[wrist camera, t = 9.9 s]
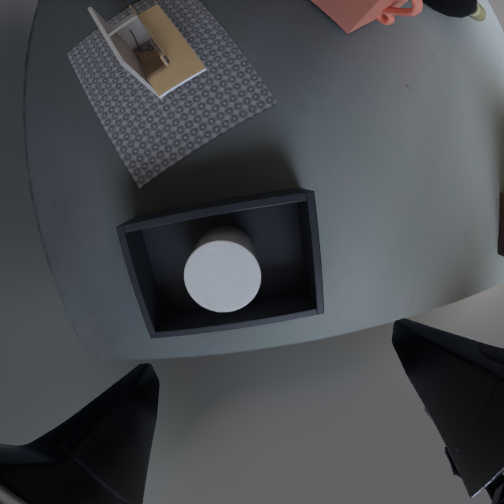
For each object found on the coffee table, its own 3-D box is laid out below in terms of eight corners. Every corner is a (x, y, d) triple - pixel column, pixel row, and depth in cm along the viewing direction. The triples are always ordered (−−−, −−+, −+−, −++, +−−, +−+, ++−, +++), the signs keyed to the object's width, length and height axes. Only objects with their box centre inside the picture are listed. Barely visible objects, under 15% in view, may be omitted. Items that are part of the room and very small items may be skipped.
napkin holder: (167, 26, 14) (140, -28, 7) (211, 86, 16) (197, 39, 9) (129, 50, 14) (86, 7, 7) (169, 112, 16) (130, 81, 9)
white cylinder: (230, 296, 20) (229, 325, 16) (182, 261, 19) (169, 283, 15) (269, 252, 19) (277, 272, 15) (219, 212, 18) (214, 223, 14)
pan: (301, 187, 18) (314, 191, 15) (312, 292, 21) (324, 313, 17) (135, 217, 18) (115, 226, 15) (162, 315, 21) (150, 338, 17)
